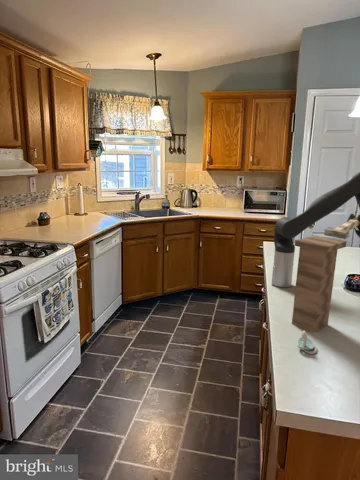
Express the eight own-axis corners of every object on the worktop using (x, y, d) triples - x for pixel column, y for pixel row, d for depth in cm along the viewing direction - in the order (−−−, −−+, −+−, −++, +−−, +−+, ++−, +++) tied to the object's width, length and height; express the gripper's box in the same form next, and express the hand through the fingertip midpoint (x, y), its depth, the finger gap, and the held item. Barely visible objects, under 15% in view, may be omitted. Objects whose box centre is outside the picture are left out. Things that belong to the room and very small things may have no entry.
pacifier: (317, 346, 115) (298, 342, 117) (319, 329, 113) (300, 325, 115) (316, 357, 108) (296, 352, 110) (319, 339, 107) (299, 334, 109)
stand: (316, 335, 122) (327, 246, 115) (286, 322, 131) (295, 240, 123) (335, 323, 131) (346, 241, 124) (306, 312, 139) (314, 235, 132)
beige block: (345, 238, 127) (345, 232, 127) (324, 235, 133) (324, 229, 132) (372, 221, 142) (373, 216, 141) (352, 219, 147) (353, 213, 147)
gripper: (353, 222, 156) (340, 205, 144) (387, 227, 146) (376, 209, 134) (348, 237, 155) (334, 222, 143) (381, 243, 145) (370, 227, 133)
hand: (355, 216), depth 139 cm, fingers closed on beige block, 2 cm apart
